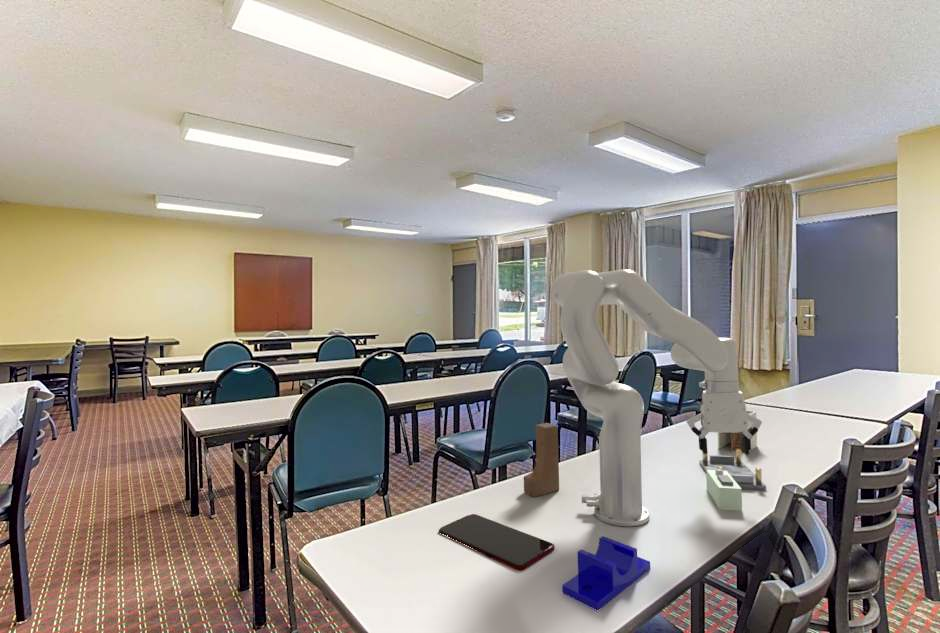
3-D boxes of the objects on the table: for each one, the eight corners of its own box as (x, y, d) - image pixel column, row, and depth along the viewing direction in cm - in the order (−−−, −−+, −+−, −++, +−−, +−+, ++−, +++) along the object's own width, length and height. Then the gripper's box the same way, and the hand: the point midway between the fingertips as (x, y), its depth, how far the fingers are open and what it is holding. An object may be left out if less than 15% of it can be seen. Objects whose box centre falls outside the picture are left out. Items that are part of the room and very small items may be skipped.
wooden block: (533, 497, 127) (531, 430, 127) (523, 492, 131) (521, 426, 131) (559, 490, 132) (558, 425, 131) (549, 485, 135) (547, 422, 135)
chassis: (716, 487, 130) (716, 468, 130) (699, 463, 150) (699, 447, 150) (766, 490, 128) (765, 470, 128) (741, 465, 147) (741, 448, 147)
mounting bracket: (616, 557, 97) (615, 527, 97) (650, 570, 92) (649, 539, 92) (562, 595, 85) (561, 561, 85) (597, 613, 80) (597, 577, 79)
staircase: (717, 449, 165) (716, 401, 165) (729, 443, 173) (728, 397, 172) (745, 455, 159) (744, 405, 158) (756, 447, 166) (756, 400, 166)
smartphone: (472, 511, 118) (557, 543, 100) (473, 517, 118) (557, 550, 100) (435, 528, 109) (520, 566, 92) (435, 535, 109) (520, 574, 92)
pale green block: (719, 509, 117) (718, 483, 117) (706, 489, 130) (706, 466, 130) (742, 511, 116) (741, 484, 116) (727, 491, 128) (726, 467, 128)
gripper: (688, 389, 121) (691, 457, 121) (764, 388, 117) (768, 458, 117) (682, 384, 128) (685, 448, 128) (754, 383, 124) (757, 448, 124)
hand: (724, 452), depth 123 cm, fingers open, 9 cm apart
